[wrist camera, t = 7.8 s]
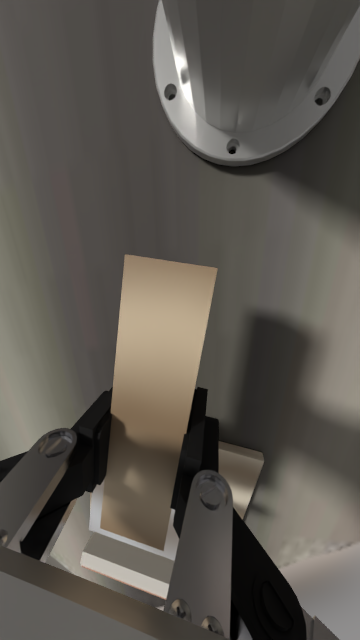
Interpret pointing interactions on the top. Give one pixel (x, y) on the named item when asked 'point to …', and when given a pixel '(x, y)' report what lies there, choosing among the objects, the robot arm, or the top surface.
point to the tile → (128, 564)
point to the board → (238, 473)
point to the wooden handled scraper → (151, 399)
